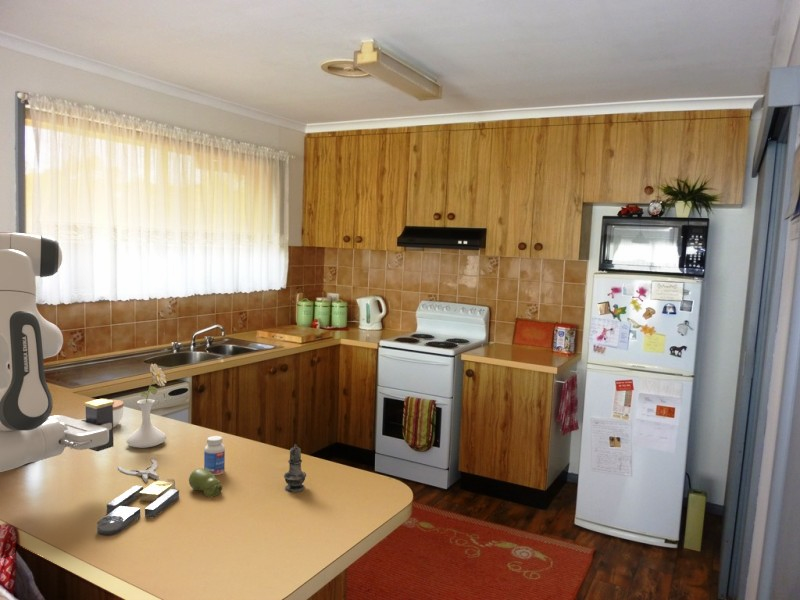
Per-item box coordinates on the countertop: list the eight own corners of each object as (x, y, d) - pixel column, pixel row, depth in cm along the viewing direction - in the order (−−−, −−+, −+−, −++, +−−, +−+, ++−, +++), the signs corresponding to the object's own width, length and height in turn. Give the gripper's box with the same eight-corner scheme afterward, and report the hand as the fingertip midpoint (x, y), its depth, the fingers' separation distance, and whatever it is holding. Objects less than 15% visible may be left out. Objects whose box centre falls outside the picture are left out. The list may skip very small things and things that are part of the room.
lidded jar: (130, 425, 200) (130, 398, 199) (100, 433, 191) (99, 405, 190) (112, 419, 205) (111, 393, 204) (82, 427, 196) (81, 399, 195)
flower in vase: (148, 453, 175) (146, 371, 172) (117, 448, 178) (116, 367, 176) (177, 439, 187) (177, 362, 184) (148, 434, 191) (147, 359, 188)
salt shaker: (310, 485, 155) (310, 441, 154) (299, 494, 150) (299, 449, 149) (290, 482, 157) (291, 438, 156) (279, 490, 152) (279, 446, 150)
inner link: (161, 484, 153) (161, 477, 153) (178, 486, 152) (178, 479, 152) (139, 500, 144) (139, 492, 144) (158, 502, 143) (158, 494, 143)
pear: (203, 462, 154) (228, 478, 149) (201, 481, 155) (226, 496, 150) (185, 469, 150) (211, 485, 145) (183, 488, 151) (208, 504, 146)
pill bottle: (218, 477, 159) (218, 442, 158) (200, 475, 160) (200, 440, 159) (228, 469, 164) (228, 435, 163) (210, 467, 165) (210, 434, 164)
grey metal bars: (135, 493, 148) (135, 485, 148) (178, 497, 146) (178, 489, 146) (78, 532, 128) (77, 523, 127) (128, 538, 126) (127, 529, 126)
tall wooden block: (97, 452, 146) (96, 405, 145) (85, 448, 148) (84, 402, 147) (114, 446, 150) (113, 401, 149) (102, 442, 152) (102, 398, 151)
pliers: (153, 455, 170) (171, 472, 158) (153, 461, 170) (171, 477, 159) (116, 463, 163) (132, 481, 152) (116, 468, 164) (132, 487, 152)
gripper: (74, 433, 132) (129, 418, 144) (23, 417, 142) (78, 404, 154) (75, 460, 132) (129, 443, 145) (24, 443, 142) (79, 428, 154)
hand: (102, 423), depth 149 cm, fingers closed on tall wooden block, 4 cm apart
